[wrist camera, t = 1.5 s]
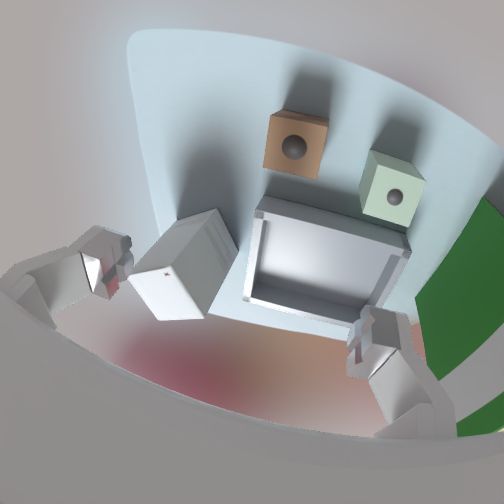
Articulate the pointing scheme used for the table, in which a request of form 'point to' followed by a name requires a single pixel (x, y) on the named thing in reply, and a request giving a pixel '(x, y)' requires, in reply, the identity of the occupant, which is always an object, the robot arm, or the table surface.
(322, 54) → the table surface
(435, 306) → the hardback book
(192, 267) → the supplement box
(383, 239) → the tray
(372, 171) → the sage block
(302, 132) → the walnut block
